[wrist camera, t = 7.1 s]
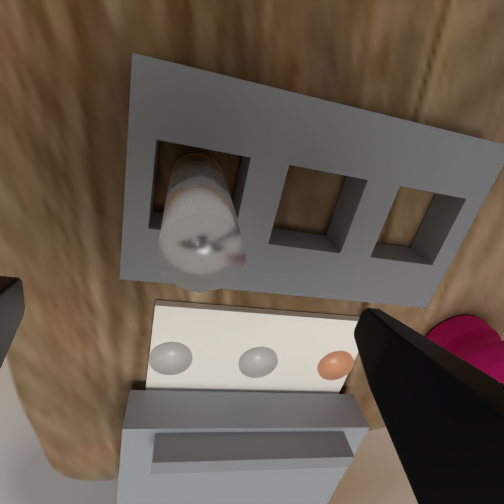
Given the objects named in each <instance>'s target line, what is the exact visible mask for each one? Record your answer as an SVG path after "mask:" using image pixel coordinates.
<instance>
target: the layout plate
mask: <svg viewBox="0 0 504 504" xmlns="http://www.w3.org/2000/svg"><path fill="white" fill-rule="evenodd" d="M359 318H360V317H359V316H347V315H334V314H322V313H310V312H298V311H285V310H273V309H261V308H249V307H236V306H224V305H212V304H200V303H187V302H175V301H163V300H156V303H155V311H154V320H153V329H152V337H151V346H150V355H149V364H148V372H147V381H146V390H160V391H210V392H260V393H311V394H339V392H340V390H341V388H342V386H343V384H344V382H345V379H346V377H347V375H348V373H349V372H350V371H351V370H352V368H353V366H354V360H355V358H356V356H357V354H358V349H357V345H356V342H355V339H354V329H355V327H356V325H357V322H358V320H359Z"/></svg>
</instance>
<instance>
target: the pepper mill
mask: <svg viewBox="0 0 504 504" xmlns="http://www.w3.org/2000/svg"><path fill="white" fill-rule="evenodd" d="M426 338H428V339H430V340H431V341H433V342H435V343H436V344H438V345H440V346H441V347H443V348H445V349H446V350H448V351H449V352H451V353H453V354H454V355H456V356H458V357H459V358H461V359H463V360H464V361H466V362H468V363H469V364H471V365H473V366H474V367H476V368H478V369H479V370H481V371H483V372H484V373H486V374H488V375H489V376H491V377H493V378H494V379H496V380H498V382H499V383H503V384H504V341H502V340H501V338H500V336H499V334H498V333H497V332H496V331H495V330H494V329H492V328H491V327H490V326H489V325H488V324H487V323H486V322H484V321H483V320H482V319H480V318H478V317H476V316H470V315H463V316H457V317H453V318H451V319H449V320H446V321H444V322H442V323H441V324H439V325H437V326H436V327H435V328H434V329H432V330H431V331H430V332H429V333H428V334H427V336H426Z"/></svg>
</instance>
